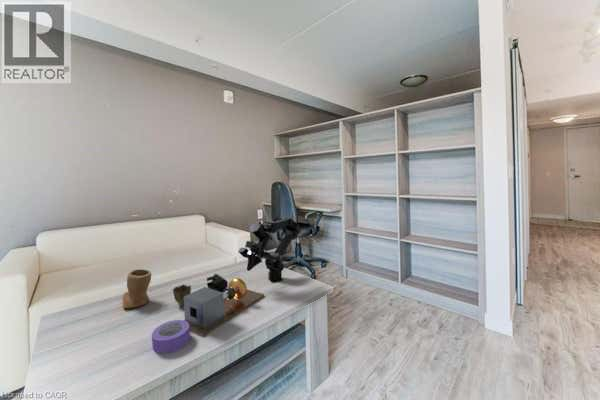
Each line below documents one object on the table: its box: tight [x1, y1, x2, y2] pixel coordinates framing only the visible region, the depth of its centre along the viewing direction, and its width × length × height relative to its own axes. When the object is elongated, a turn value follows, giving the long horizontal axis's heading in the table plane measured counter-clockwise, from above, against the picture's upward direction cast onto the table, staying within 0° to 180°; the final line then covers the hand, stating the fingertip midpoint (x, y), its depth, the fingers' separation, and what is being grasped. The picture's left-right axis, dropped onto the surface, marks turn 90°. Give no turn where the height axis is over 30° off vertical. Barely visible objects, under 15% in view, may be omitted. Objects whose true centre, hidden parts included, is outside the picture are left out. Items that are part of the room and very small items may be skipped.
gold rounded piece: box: [223, 277, 248, 300], centre depth 111 cm, size 17×9×9 cm, turn 150°
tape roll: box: [151, 319, 191, 355], centre depth 89 cm, size 12×12×5 cm
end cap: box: [206, 273, 229, 292], centre depth 131 cm, size 10×7×7 cm
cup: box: [172, 284, 192, 307], centre depth 116 cm, size 8×7×8 cm
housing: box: [183, 286, 265, 338], centre depth 111 cm, size 36×14×12 cm, turn 150°
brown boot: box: [121, 268, 152, 309], centre depth 119 cm, size 15×12×15 cm
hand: (247, 270), depth 123 cm, fingers closed
